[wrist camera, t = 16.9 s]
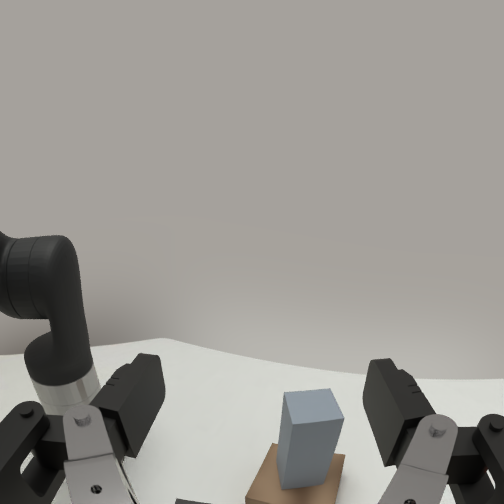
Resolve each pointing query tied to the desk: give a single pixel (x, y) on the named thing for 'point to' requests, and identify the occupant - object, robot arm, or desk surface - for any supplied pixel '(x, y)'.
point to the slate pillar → (307, 437)
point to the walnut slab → (297, 499)
